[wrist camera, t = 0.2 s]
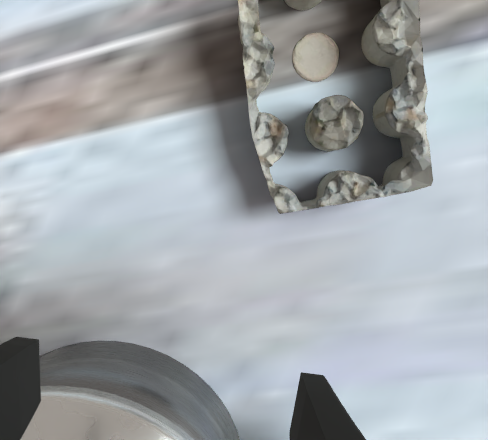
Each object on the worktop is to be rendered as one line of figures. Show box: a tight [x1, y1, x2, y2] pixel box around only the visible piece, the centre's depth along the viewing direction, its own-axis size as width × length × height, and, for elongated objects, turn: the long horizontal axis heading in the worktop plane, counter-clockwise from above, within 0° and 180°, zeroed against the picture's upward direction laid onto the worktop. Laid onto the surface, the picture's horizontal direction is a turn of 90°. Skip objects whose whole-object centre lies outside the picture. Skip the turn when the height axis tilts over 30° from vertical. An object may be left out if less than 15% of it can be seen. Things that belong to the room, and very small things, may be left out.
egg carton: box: [238, 0, 433, 214], centre depth 18 cm, size 11×8×4 cm
